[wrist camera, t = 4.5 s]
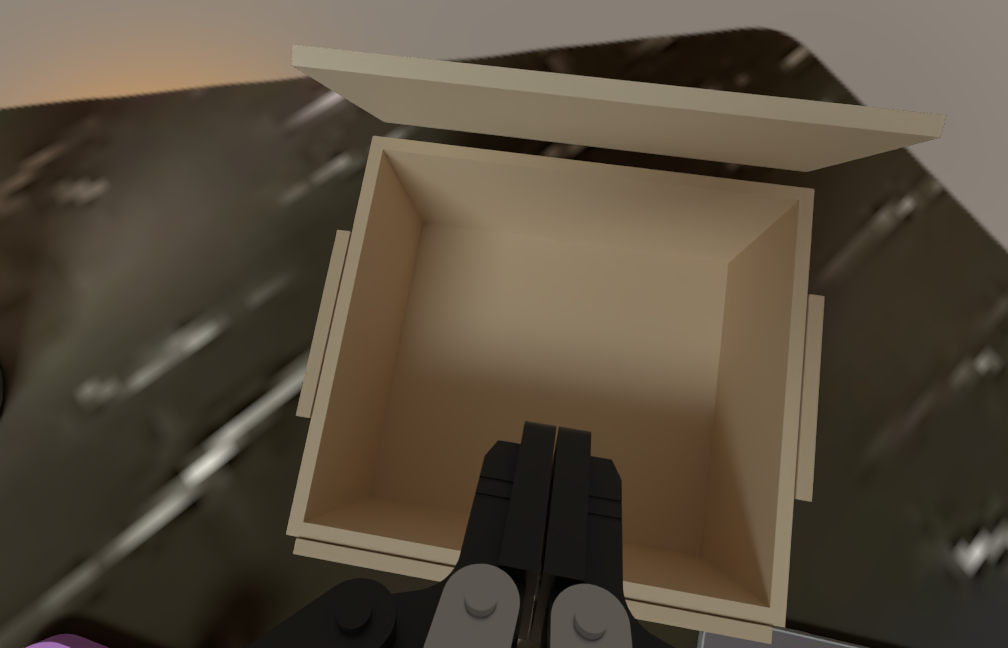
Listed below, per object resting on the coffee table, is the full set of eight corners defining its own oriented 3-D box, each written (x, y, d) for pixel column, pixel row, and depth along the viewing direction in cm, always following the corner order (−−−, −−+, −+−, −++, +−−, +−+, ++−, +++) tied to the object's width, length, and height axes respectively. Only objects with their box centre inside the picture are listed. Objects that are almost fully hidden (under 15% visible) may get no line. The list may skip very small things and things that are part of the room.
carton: (347, 513, 33) (266, 548, 23) (407, 214, 36) (358, 133, 26) (718, 581, 31) (802, 650, 21) (746, 259, 35) (831, 190, 25)
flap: (291, 65, 17) (292, 44, 17) (384, 122, 26) (385, 108, 26) (940, 137, 16) (946, 114, 16) (806, 171, 25) (809, 157, 25)
